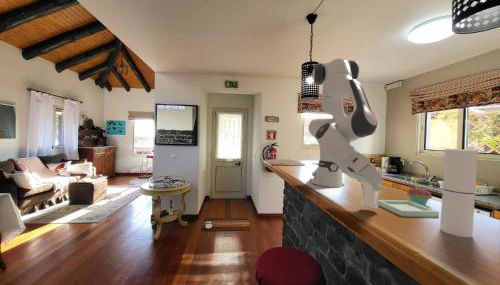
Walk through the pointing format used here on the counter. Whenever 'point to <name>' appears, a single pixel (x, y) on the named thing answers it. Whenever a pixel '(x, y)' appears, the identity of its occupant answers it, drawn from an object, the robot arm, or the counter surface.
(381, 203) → the tray
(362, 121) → the robot arm
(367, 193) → the white upright block
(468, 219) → the cylindrical container
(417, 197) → the cupcake
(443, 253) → the counter surface
